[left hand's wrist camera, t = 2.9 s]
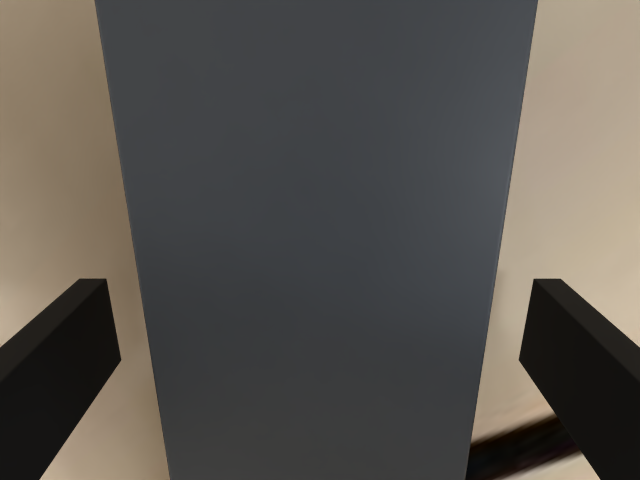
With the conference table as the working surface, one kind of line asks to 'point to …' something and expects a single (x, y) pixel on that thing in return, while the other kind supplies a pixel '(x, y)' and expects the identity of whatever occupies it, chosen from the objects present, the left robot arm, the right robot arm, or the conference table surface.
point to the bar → (316, 223)
